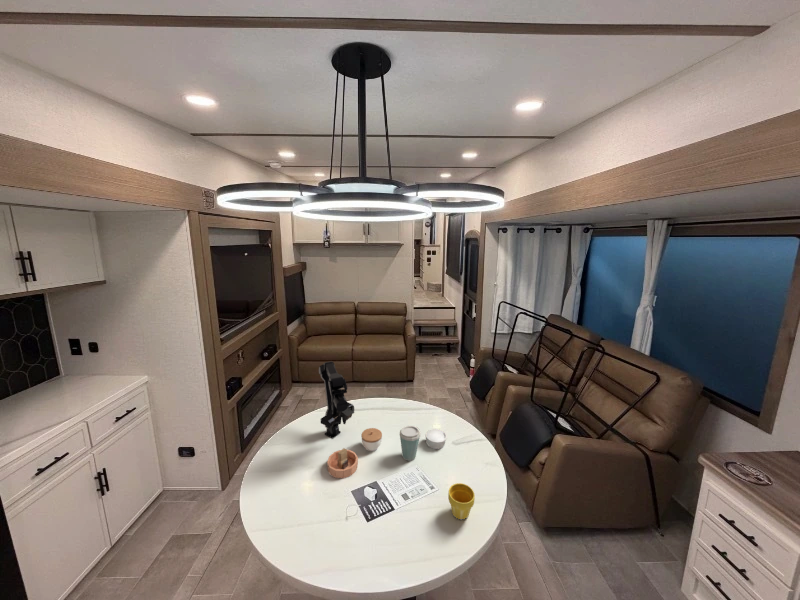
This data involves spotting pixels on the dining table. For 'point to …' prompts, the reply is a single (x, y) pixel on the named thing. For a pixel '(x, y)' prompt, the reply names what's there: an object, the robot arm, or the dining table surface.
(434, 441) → the ramekin
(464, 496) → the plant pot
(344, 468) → the clip
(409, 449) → the disposable coffee cup
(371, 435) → the lidded jar
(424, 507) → the dining table surface
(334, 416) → the robot arm
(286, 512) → the dining table surface
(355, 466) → the faceted terracotta bowl
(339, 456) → the wooden plank piece
